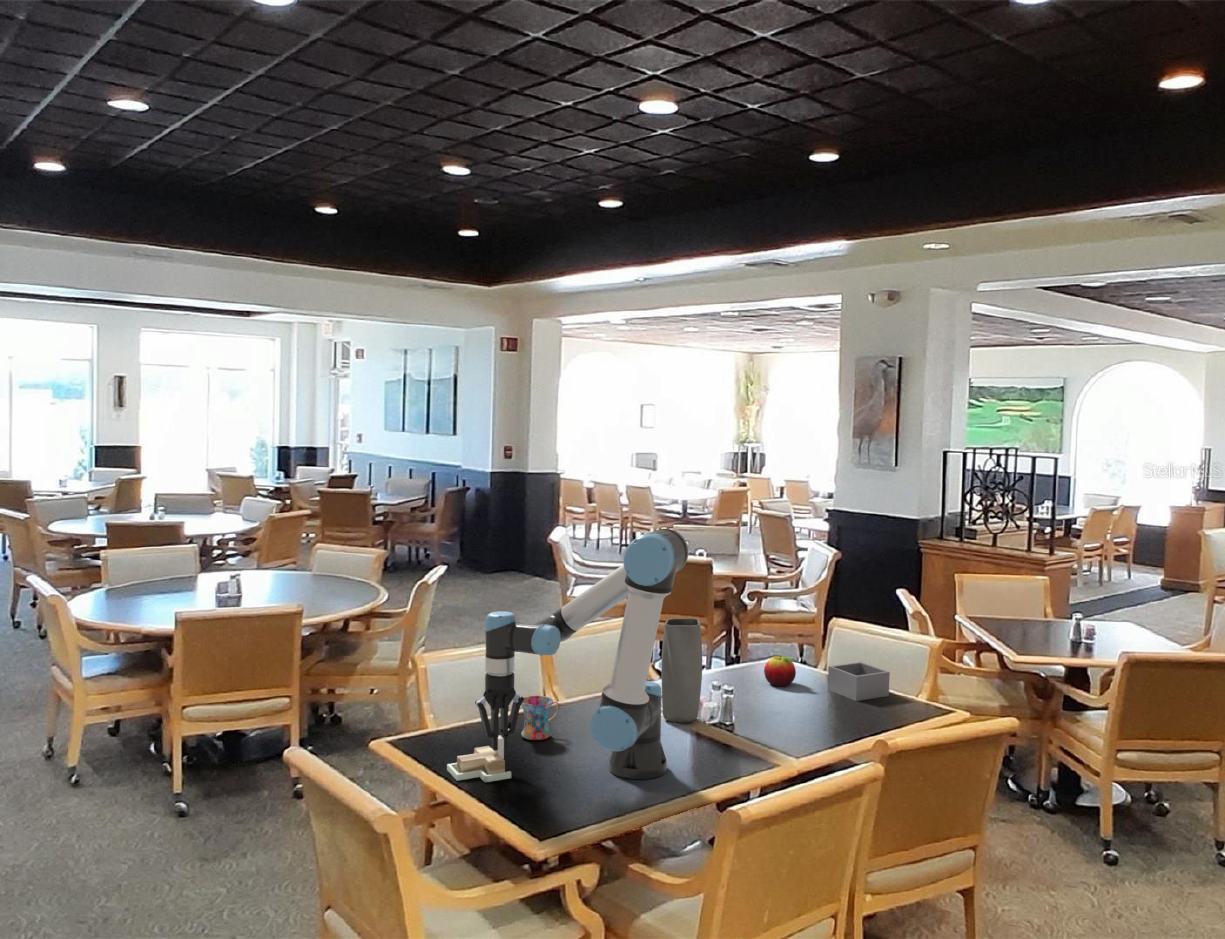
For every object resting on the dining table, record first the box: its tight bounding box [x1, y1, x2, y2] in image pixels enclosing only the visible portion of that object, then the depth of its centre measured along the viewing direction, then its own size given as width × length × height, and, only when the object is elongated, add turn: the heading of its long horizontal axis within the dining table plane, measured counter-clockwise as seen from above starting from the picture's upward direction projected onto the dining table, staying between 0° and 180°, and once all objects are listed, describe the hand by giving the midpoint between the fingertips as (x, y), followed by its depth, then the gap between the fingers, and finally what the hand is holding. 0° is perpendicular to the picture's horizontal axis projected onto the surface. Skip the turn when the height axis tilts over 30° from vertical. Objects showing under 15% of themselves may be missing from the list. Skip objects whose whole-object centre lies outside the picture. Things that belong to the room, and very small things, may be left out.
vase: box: [660, 617, 703, 724], centre depth 296 cm, size 12×12×30 cm
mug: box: [520, 695, 561, 741], centre depth 280 cm, size 12×9×11 cm
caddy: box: [827, 661, 891, 702], centre depth 328 cm, size 14×14×8 cm
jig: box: [446, 762, 512, 783], centre depth 253 cm, size 16×13×2 cm
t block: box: [456, 745, 506, 775], centre depth 253 cm, size 12×10×4 cm
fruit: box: [763, 654, 797, 687], centre depth 336 cm, size 11×11×10 cm
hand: (499, 761), depth 255 cm, fingers closed
